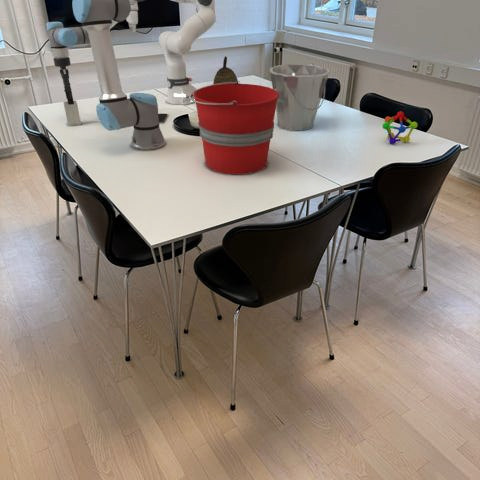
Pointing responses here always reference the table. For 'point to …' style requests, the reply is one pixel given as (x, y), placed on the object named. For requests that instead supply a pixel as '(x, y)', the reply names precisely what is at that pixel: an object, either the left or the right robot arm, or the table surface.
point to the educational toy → (398, 128)
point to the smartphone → (162, 117)
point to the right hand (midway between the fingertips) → (132, 30)
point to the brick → (72, 114)
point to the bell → (225, 74)
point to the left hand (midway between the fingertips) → (70, 101)
